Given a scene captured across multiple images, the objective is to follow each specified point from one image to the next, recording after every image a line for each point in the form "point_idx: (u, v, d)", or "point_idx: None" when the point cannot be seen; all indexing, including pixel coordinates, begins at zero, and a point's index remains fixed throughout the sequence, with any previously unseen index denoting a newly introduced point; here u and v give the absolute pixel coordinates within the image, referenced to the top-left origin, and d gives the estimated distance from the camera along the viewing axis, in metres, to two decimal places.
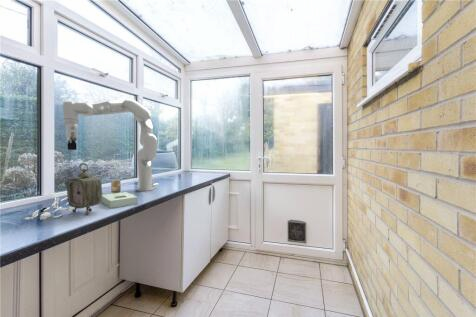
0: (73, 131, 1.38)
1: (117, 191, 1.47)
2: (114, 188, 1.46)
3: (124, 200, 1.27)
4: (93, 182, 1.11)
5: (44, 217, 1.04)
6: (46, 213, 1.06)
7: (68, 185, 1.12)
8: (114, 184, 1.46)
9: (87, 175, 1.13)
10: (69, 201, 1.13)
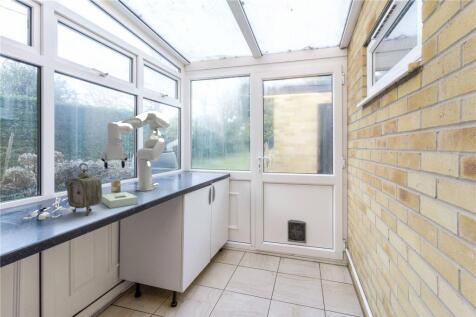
0: None
1: (117, 191, 1.47)
2: (114, 188, 1.46)
3: (124, 200, 1.27)
4: (93, 182, 1.11)
5: (42, 217, 1.04)
6: (45, 213, 1.06)
7: (68, 185, 1.12)
8: (114, 184, 1.46)
9: (87, 175, 1.13)
10: (69, 201, 1.13)
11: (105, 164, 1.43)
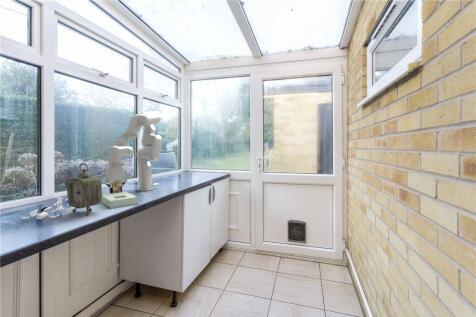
0: None
1: (117, 191, 1.47)
2: (114, 188, 1.46)
3: (124, 200, 1.27)
4: (93, 182, 1.11)
5: (40, 217, 1.04)
6: (43, 213, 1.06)
7: (68, 185, 1.12)
8: (114, 184, 1.46)
9: (87, 175, 1.13)
10: (69, 201, 1.13)
11: (110, 189, 1.46)
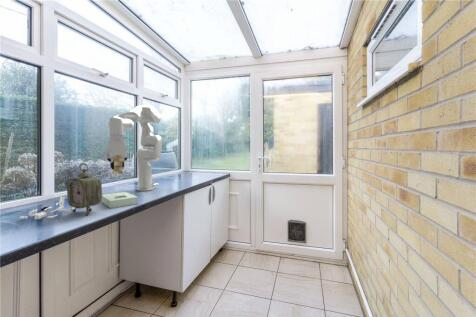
0: None
1: (119, 166, 1.35)
2: (115, 163, 1.34)
3: (124, 200, 1.27)
4: (93, 182, 1.11)
5: (38, 217, 1.04)
6: (41, 213, 1.06)
7: (68, 185, 1.12)
8: (115, 158, 1.33)
9: (87, 175, 1.13)
10: (69, 201, 1.13)
11: (111, 164, 1.33)
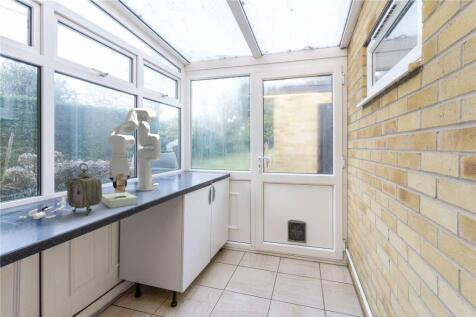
0: None
1: (121, 185, 1.30)
2: (118, 182, 1.29)
3: (124, 200, 1.27)
4: (93, 182, 1.11)
5: (36, 217, 1.04)
6: (40, 213, 1.07)
7: (68, 185, 1.12)
8: (118, 177, 1.29)
9: (87, 175, 1.13)
10: (69, 201, 1.13)
11: (114, 183, 1.29)
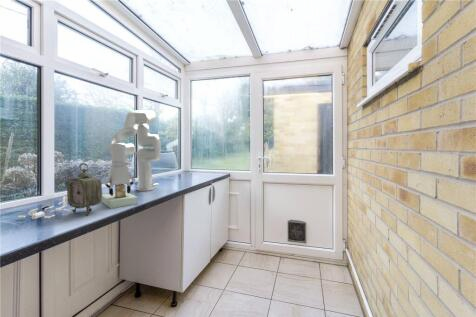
0: None
1: (122, 197, 1.31)
2: (118, 194, 1.29)
3: (124, 200, 1.27)
4: (93, 182, 1.11)
5: (35, 217, 1.04)
6: (39, 213, 1.07)
7: (68, 185, 1.12)
8: (118, 189, 1.29)
9: (87, 175, 1.13)
10: (69, 201, 1.13)
11: (110, 190, 1.28)
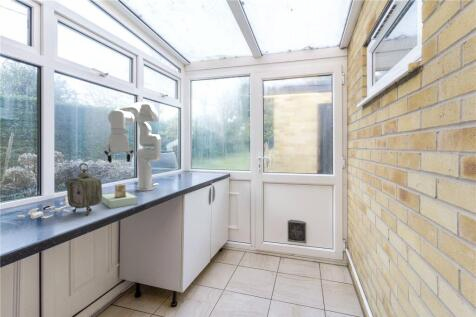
0: None
1: (122, 197, 1.31)
2: (118, 193, 1.29)
3: (124, 200, 1.27)
4: (93, 182, 1.11)
5: (33, 216, 1.05)
6: (38, 212, 1.07)
7: (68, 185, 1.12)
8: (118, 189, 1.29)
9: (87, 175, 1.13)
10: (69, 201, 1.13)
11: (109, 157, 1.27)
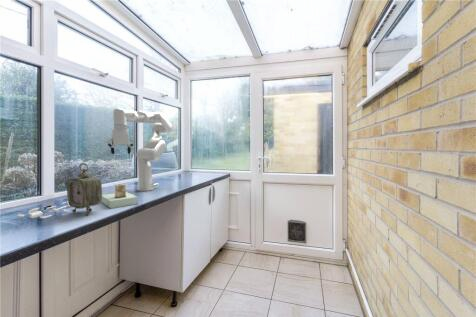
0: None
1: (122, 197, 1.31)
2: (118, 193, 1.29)
3: (124, 200, 1.27)
4: (93, 182, 1.11)
5: (32, 216, 1.05)
6: (37, 212, 1.08)
7: (68, 185, 1.12)
8: (118, 189, 1.29)
9: (87, 175, 1.13)
10: (69, 201, 1.13)
11: (112, 149, 1.46)
